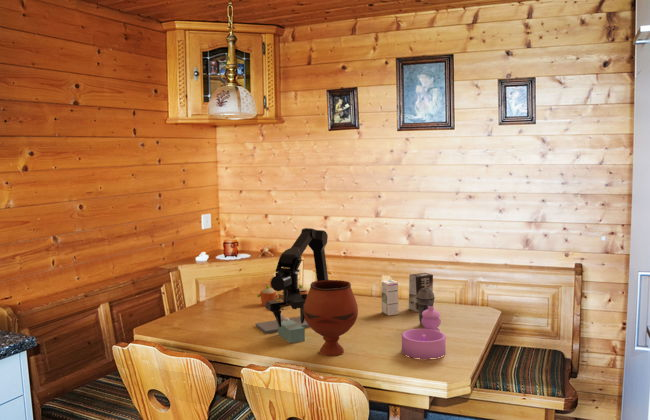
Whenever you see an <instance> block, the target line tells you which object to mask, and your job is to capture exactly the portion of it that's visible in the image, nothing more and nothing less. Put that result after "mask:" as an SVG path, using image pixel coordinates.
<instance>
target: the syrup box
mask: <svg viewBox="0 0 650 420" xmlns="http://www.w3.org/2000/svg"><path fill="white" fill-rule="evenodd" d="M381 313H382V314H384V315H386V316H394V315H395V316H396V315H399V282H397V281H396V280H393V279H386V280H381Z"/></svg>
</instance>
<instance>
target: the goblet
mask: <svg viewBox="0 0 650 420" xmlns="http://www.w3.org/2000/svg"><path fill="white" fill-rule="evenodd" d="M309 286H310V288H309V290H308V292H307V294H308V295H307V298H306V300H305V304H304V318H305V319H304V320H306V322H307V324H308V325H309V326H310V327H309V328H311V329H312V330H313V332H315V333H316V334H318V335H320V336H322V337H323V338H322V339H323V340H324V343H323V344H322V345H321V347H320V349H319V354H320V355H322V356H327V357H335V356H339V355H340V356H341V355H343V354H344V352H345V350H344V347H342V345H341V344H340V343H339V340H340V336H342V335H344V334H346V333H347V332H349V330H351V328H352V327H353V326H354V325H355V324H356V322H357V319H358V315H359V308H358V303H357V299H356V297H355V295H354V292H353V289H352V283H351V282H350V281H346V280H341V279H340V280H339V279H337V280H336V279H329V280H322V281H317V280H315V281H312V282H311V283H310V285H309Z"/></svg>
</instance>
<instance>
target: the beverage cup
mask: <svg viewBox="0 0 650 420" xmlns="http://www.w3.org/2000/svg"><path fill="white" fill-rule="evenodd" d="M435 298H436V297H435V293H434V290H433V291H432V290H431V289H429V288H426V278H425V288H422V289H421V290H420V291H419V292H418V295H417V301H418V308H419V312H418V318H419V325H421V326H420V327H422V326H423V325H422V323H421V319H422V318H423V316H422V312H423V311H425V310H428V306H433V307H434V303H435Z"/></svg>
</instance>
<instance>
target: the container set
mask: <svg viewBox="0 0 650 420" xmlns="http://www.w3.org/2000/svg"><path fill="white" fill-rule="evenodd" d="M422 316H423V318H422V319H421V323H422V325H423V326H424V327H422V328H413V329H407V330H405V331H403V332H402V333H401V353H402V355H404V354H405V355H407V356H409V357H413V358H420V359H430V358H438V357H441V356H443V355H444V354H445V355H446V347H447V345H446V334H445V333H444V332H441V330H440V329H439V326H440V325H441V321H442V320H441V318H440V316H441V313H440V312H439V311H438V310H436V309H435V306H434V305H433V306H428V310H425V311H423V312H422ZM405 355H404V356H405ZM407 356H406V357H407ZM409 357H408V358H409ZM413 358H412V359H413Z"/></svg>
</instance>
